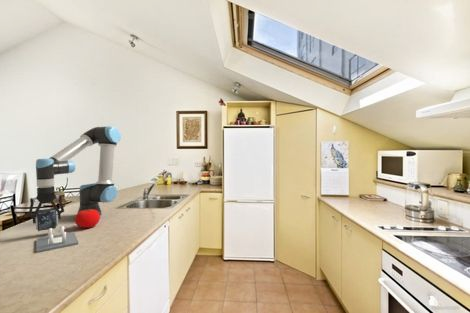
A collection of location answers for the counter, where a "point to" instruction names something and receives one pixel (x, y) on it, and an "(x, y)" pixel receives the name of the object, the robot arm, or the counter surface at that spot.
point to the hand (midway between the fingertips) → (47, 227)
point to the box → (46, 219)
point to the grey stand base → (56, 240)
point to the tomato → (87, 218)
